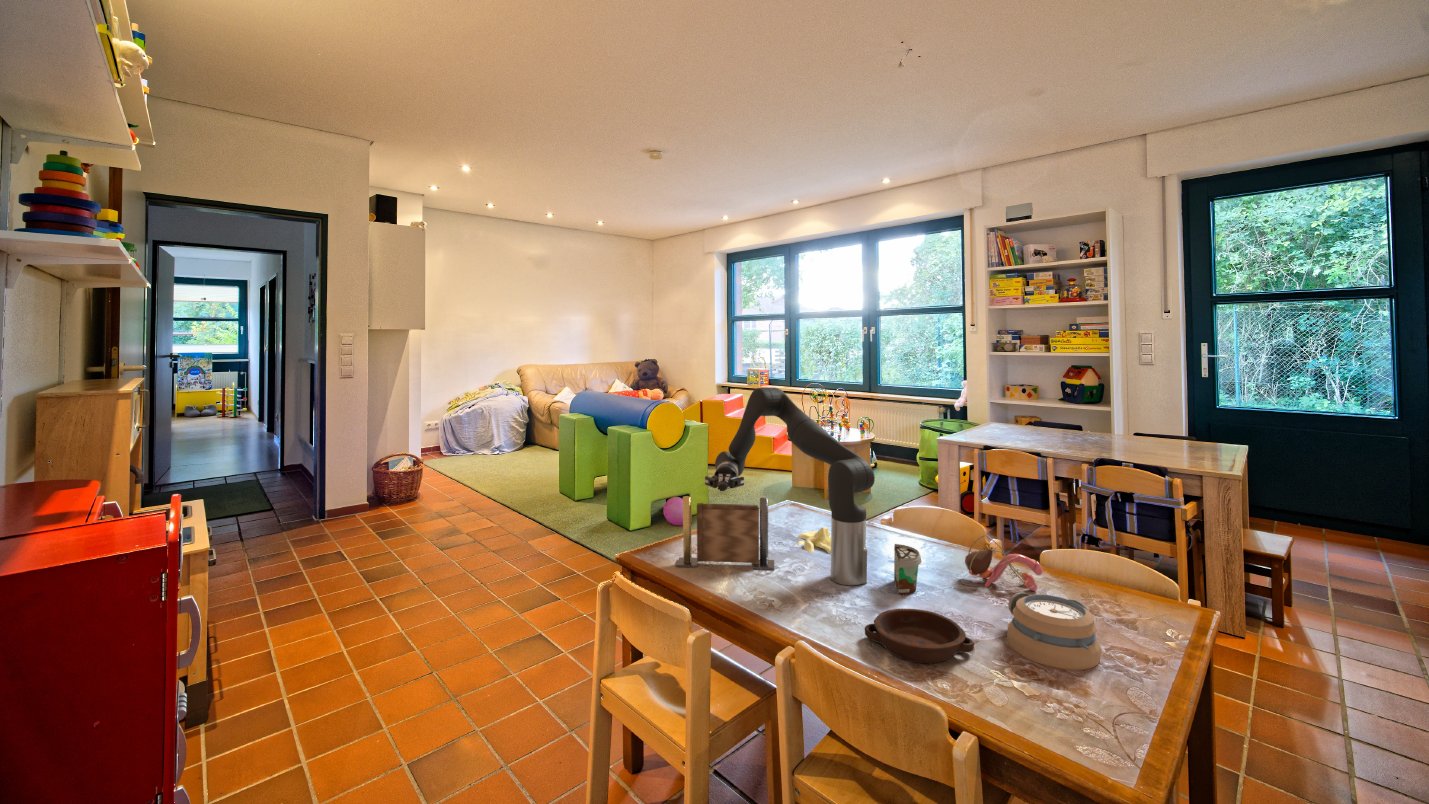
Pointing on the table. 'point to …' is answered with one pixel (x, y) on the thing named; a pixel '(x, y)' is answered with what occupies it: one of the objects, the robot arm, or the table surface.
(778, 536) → the table surface
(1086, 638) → the alarm clock
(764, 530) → the gate frame
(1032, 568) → the anatomy model
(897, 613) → the dish
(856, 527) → the robot arm
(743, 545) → the gate panel
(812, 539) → the cloth
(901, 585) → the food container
